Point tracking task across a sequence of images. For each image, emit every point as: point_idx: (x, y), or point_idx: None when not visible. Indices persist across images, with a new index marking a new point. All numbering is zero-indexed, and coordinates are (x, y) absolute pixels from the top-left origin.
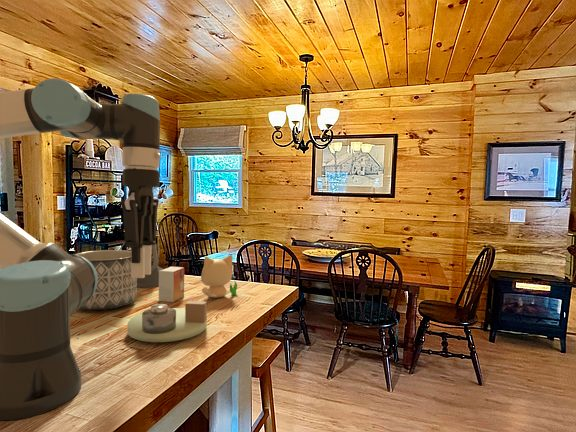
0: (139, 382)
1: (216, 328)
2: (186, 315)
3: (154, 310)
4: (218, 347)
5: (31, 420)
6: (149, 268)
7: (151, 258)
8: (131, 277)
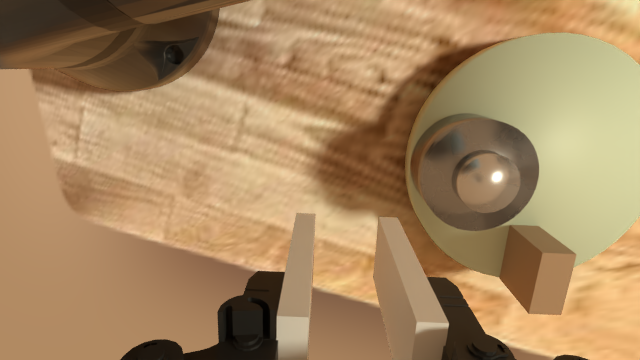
0: (214, 194)
1: None
2: (519, 237)
3: (458, 175)
4: None
5: None
6: (378, 295)
7: None
8: (297, 215)
